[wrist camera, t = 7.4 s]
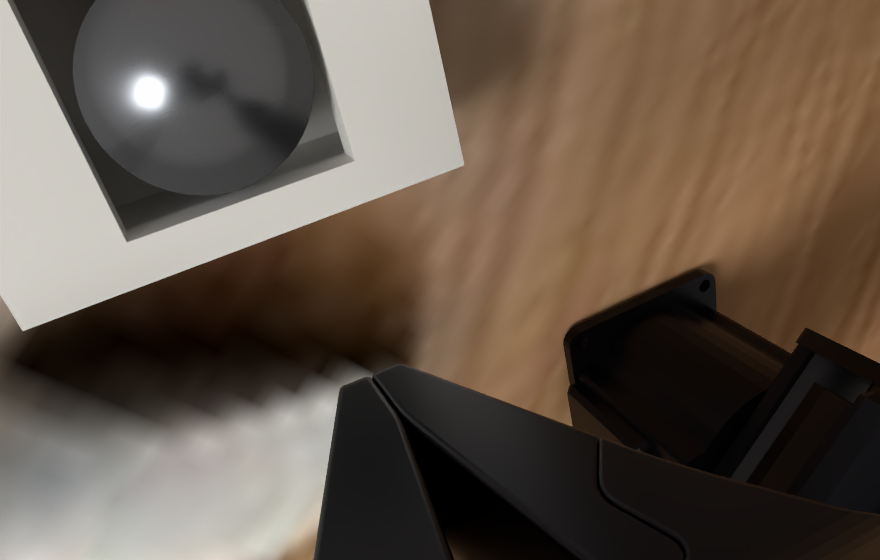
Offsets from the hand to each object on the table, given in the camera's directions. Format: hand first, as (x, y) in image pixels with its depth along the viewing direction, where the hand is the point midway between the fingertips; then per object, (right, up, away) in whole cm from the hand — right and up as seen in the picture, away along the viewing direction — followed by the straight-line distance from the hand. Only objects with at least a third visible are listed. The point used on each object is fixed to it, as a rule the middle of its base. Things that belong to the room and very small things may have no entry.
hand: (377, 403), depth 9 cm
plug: (-5, +7, +7) cm, 11 cm away
